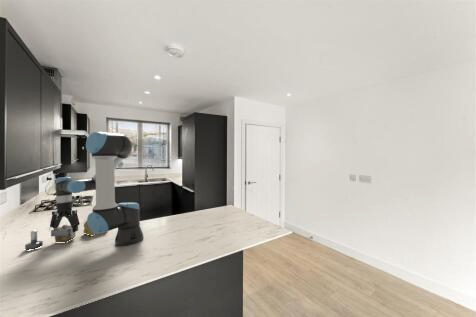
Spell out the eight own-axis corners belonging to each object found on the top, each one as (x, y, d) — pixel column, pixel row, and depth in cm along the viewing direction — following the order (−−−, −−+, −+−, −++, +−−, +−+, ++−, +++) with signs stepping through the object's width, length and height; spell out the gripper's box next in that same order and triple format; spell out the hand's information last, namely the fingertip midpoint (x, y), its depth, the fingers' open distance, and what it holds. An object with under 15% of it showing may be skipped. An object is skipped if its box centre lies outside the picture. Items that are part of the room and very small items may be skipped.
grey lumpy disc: (78, 230, 126) (78, 225, 126) (66, 235, 117) (66, 229, 117) (64, 231, 126) (64, 225, 126) (51, 236, 117) (50, 230, 117)
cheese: (83, 234, 132) (82, 220, 132) (100, 229, 142) (100, 215, 142) (91, 237, 127) (90, 221, 127) (108, 231, 137) (108, 217, 137)
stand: (74, 239, 125) (74, 223, 125) (66, 243, 118) (65, 226, 118) (64, 239, 124) (64, 223, 125) (55, 243, 118) (55, 227, 118)
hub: (46, 245, 116) (45, 228, 116) (34, 251, 109) (33, 233, 109) (34, 246, 115) (33, 229, 116) (21, 251, 108) (21, 233, 109)
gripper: (86, 199, 126) (87, 234, 125) (52, 201, 125) (53, 236, 125) (77, 202, 118) (78, 239, 118) (40, 203, 118) (41, 241, 117)
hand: (65, 237), depth 121 cm, fingers closed on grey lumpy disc, 9 cm apart
